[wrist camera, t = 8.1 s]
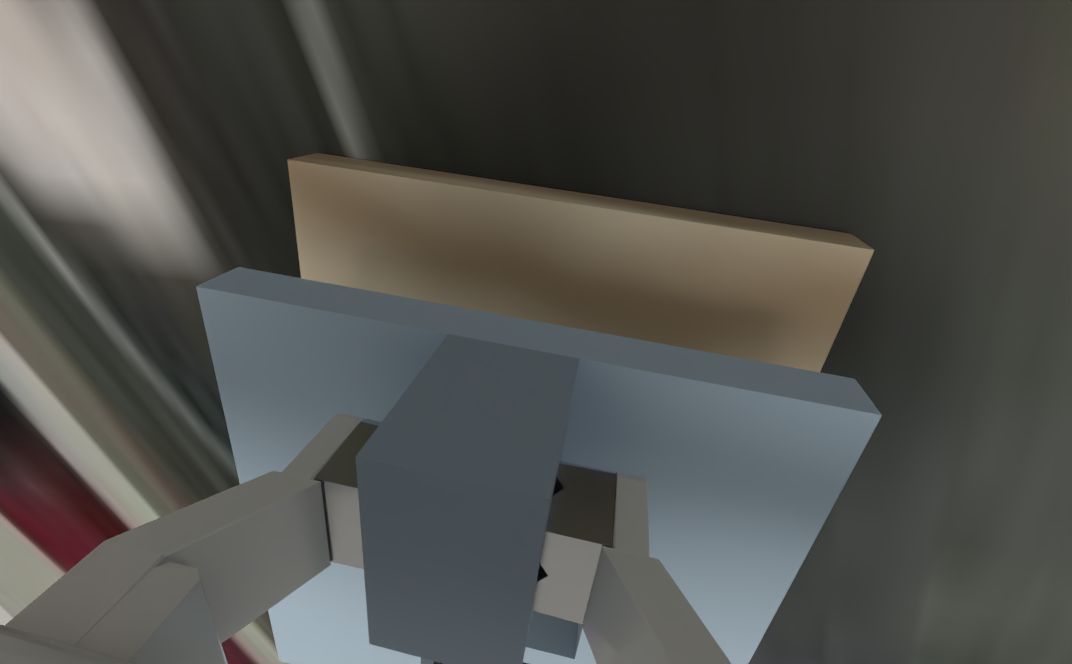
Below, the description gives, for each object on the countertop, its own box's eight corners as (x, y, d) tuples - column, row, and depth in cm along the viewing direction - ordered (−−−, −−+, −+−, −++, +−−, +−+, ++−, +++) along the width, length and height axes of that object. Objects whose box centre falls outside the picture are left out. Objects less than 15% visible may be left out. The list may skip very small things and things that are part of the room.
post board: (318, 152, 15) (204, 177, 11) (851, 233, 13) (940, 296, 9) (350, 522, 22) (289, 615, 19) (696, 603, 21) (710, 726, 17)
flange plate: (238, 266, 11) (-4, 377, 7) (854, 379, 10) (1021, 604, 5) (301, 624, 17) (193, 799, 13) (685, 725, 16) (703, 958, 11)
